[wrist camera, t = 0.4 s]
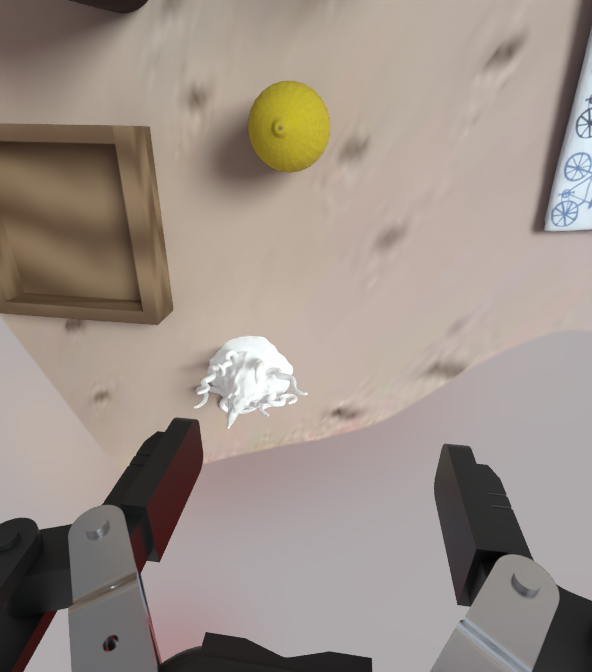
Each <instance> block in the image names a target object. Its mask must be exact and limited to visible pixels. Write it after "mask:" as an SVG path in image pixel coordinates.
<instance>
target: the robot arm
mask: <svg viewBox="0 0 592 672" xmlns="http://www.w3.org/2000/svg"><path fill="white" fill-rule="evenodd" d="M202 463H203V448H202V441H201V433H200V426H199V421H198V420H197V419H186V418H174V419H173V420H172V422H171V423H170V425H169V427H168V428H167V430H166V431H165V432H159V431H157V432H156V433H155V434H154V435H152V436H151V437H150V438H148V439H147V440H146V441H145V442H144V443H143V445H142V446H141V447H140V449H139V450H138V452H137V453H136V456H134V458H133V459H132V461H131V462H130V465H129V466H128V467H127V468H126V470H125V471H124V473H123V474H122V476H121V478H120V479H119V480H118V482H117V483H116V485H115V486H114V488H113V489H112V491H111V492H110V494H109V495H108V497H107V498H106V500H105V501H104V503H103V504H102V505H101V506H97V507H94V508H92V509H90V510H88V511H86V512H85V513H83V514H82V515H80V516H79V517H78V518H77V520H75V522H74V523H73V524H70V525H65V526H59V527H53V528H47V529H41V530H39V529H38V527H37V524H36V523H35V522H34V521H33V520H31V519H29V518H15V519H12V520H9V521H6V522H4V523H1V524H0V672H23V671H24V669H25V667H26V666H27V664H28V662H29V660H30V659H31V657H32V655H33V653H34V652H35V650H36V648H37V646H38V644H39V643H40V641H41V639H42V637H43V635H44V634H45V632H46V630H47V628H48V627H49V625H50V623H51V621H52V619H53V618H54V616H55V614H56V612H57V610H60V609H65V608H69V609H68V620H69V636H70V652H71V668H72V672H372V658H368V657H361V656H355V655H349V654H342V653H336V652H324V653H316V654H310V655H303V656H296V657H289V658H286V657H282V656H280V655H278V654H276V653H274V652H272V651H270V650H267V649H266V648H264V647H262V646H260V645H257V644H255V643H254V642H252V641H249V640H248V639H245V638H240V637H233V636H227V635H221V634H214V633H208V632H206V633H205V637H204V640H203V643H202V646H198V647H194V648H191V649H187V650H185V651H182V652H180V653H178V654H176V655H174V656H172V657H171V658H169V659H167V660H166V661H164V662H163V663H162V661H161V657H160V652H159V649H158V645H157V641H156V637H155V633H154V628H153V624H152V620H151V616H150V611H149V607H148V602H147V598H146V593H145V589H144V585H143V580H142V576H141V572H142V570H143V567H144V565H145V563H146V561H154V562H160V560H161V558H162V556H163V553H164V551H165V549H166V547H167V545H168V542H169V540H170V538H171V535H172V533H173V531H174V529H175V527H176V525H177V522H178V520H179V518H180V516H181V513H182V511H183V509H184V507H185V505H186V502H187V500H188V498H189V496H190V493H191V491H192V489H193V487H194V485H195V482H196V480H197V478H198V476H199V473H200V471H201V468H202ZM434 494H435V501H436V506H437V510H438V515H439V520H440V525H441V529H442V534H443V539H444V543H445V548H446V553H447V557H448V562H449V566H450V572H451V576H452V581H453V586H454V590H455V595H456V600H457V605H462V606H469V607H470V609H469V611H468V613H467V614H466V616H465V618H464V619H463V620H461V621H460V622H459V623H458V625H457V626H456V628H455V629H454V631H453V633H452V635H451V636H450V638H449V640H448V641H447V643H446V645H445V647H444V648H443V650H442V652H441V653H440V655H439V657H438V659H437V660H436V662H435V664H434V666H433V667H432V669H431V671H430V672H592V601H591V600H588V599H586V598H583V597H581V596H578V595H576V594H573V593H571V592H569V591H567V590H565V589H563V588H561V587H560V586H558V585H557V584H556V583H555V581H554V580H553V578H552V577H551V576H550V574H549V573H548V572H547V571H546V570H545V569H544V568H543V567H541V566H540V565H539V564H537V563H536V562H534V560H533V558H532V556H531V553H530V551H529V548H528V546H527V544H526V541H525V539H524V536H523V534H522V531H521V529H520V526H519V524H518V522H517V519H516V517H515V514H514V512H513V510H512V509H511V505H510V502H509V499H508V497H506V492H505V490H504V488H503V485H502V482H501V480H500V478H499V477H498V476H497V475H496V474H495V473H494V472H493V470H492V469H491V468H490V467H489V466H488V465H483V464H477V463H476V461H475V458H474V455H473V452H472V450H471V448H470V447H469V446H463V445H453V444H444V445H443V447H442V450H441V454H440V459H439V463H438V467H437V472H436V476H435V482H434Z"/></svg>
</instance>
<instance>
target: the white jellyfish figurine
mask: <svg viewBox="0 0 592 672" xmlns="http://www.w3.org/2000/svg"><path fill="white" fill-rule="evenodd" d="M292 373H293V368H292V366H291V365H290V364H289V363H288V362H287V360H286V358H285V357H284V356H283V355H281V354H279V353H278V352H277V350H276V348H275V346H274V345H272V344H270V343H269V342H268V341H267V339H265V338H264V337H260V336H257V337H252V336H245V337H238V338H236V339H233V340H229V341H227V342H226V343H225V344H224V345H223V347H222V348H221V349H220V350H219V351H217V352H216V354H215V356H214V357H213V358H212V359H211V360H210V364H209V367H208V371H207V374H208V377H205V378H203V379H202V380H201V381H200V384H201V385H202V386H199V387H197V388H196V391H197V394H203V400H202V401H201V403H199V404H198V405H196V406H194V409H196V408H199V407H201V406H203V405H204V404H205V403H206V402H207V400H208V397H209V394H208V391H210V392H213V393H216V394H220V395H221V396H222V397H223V399H222V400H221V401H220V403H219V406H220V408H221V409H222V410H223V411H224V412H226V413H227V429H229V427H230V426H231V424H233V422H234V420H235V419H236V417H237V415H238V414H244V413H248V412H251V411H253V410H255V409H256V408H259V411H260V413H261V414H262V415H265V416H269V414H268V413H266V412H265V411H264V409H266V408H268V407H272V406H274V407H280V406H283V405H285V404H286V399H288V398H292V399H294V400H292V401H290V402H289V403H288V404H293V403H295V402H296V401H297V396H296V395H294V394H284V393H285V391H286V390H287V389H288V387H289V384H290V383H291V388H292V390H293V391H294V392H295V393H296V394H298V395H307V394H308V393H307V392H302V391H300V390H298V389H297V387H296V379H295V378H294V377H293V376H292ZM209 382H211V384H212V385H213V386H209V384H208V383H209ZM278 398H280V400H281V401H275V399H278ZM226 402H228V408H227V407H226V406H225V403H226ZM244 408H250V409H245V410H244Z"/></svg>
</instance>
